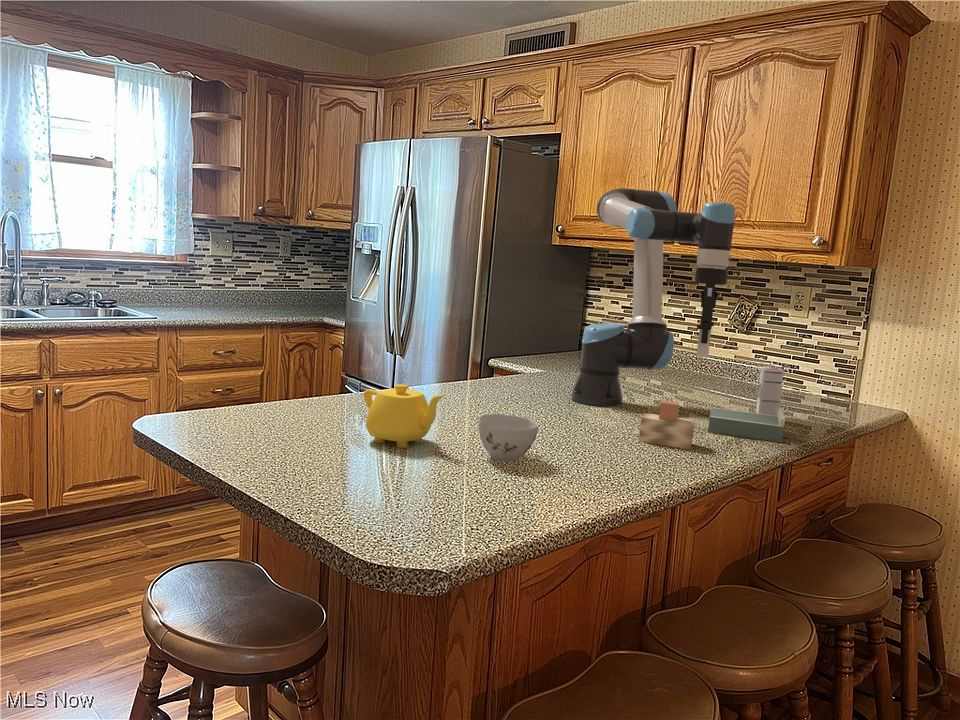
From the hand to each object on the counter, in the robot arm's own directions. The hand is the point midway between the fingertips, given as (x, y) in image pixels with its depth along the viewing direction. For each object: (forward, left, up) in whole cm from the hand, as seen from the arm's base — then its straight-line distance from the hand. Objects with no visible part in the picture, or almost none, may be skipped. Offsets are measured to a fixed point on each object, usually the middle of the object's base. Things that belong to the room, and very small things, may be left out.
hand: (702, 354), depth 186 cm
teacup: (-35, -45, -21) cm, 61 cm away
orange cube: (-6, -11, -15) cm, 19 cm away
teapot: (-59, -47, -21) cm, 78 cm away
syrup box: (+19, +42, -21) cm, 51 cm away
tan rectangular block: (-6, -11, -21) cm, 24 cm away
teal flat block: (+12, +15, -21) cm, 29 cm away
